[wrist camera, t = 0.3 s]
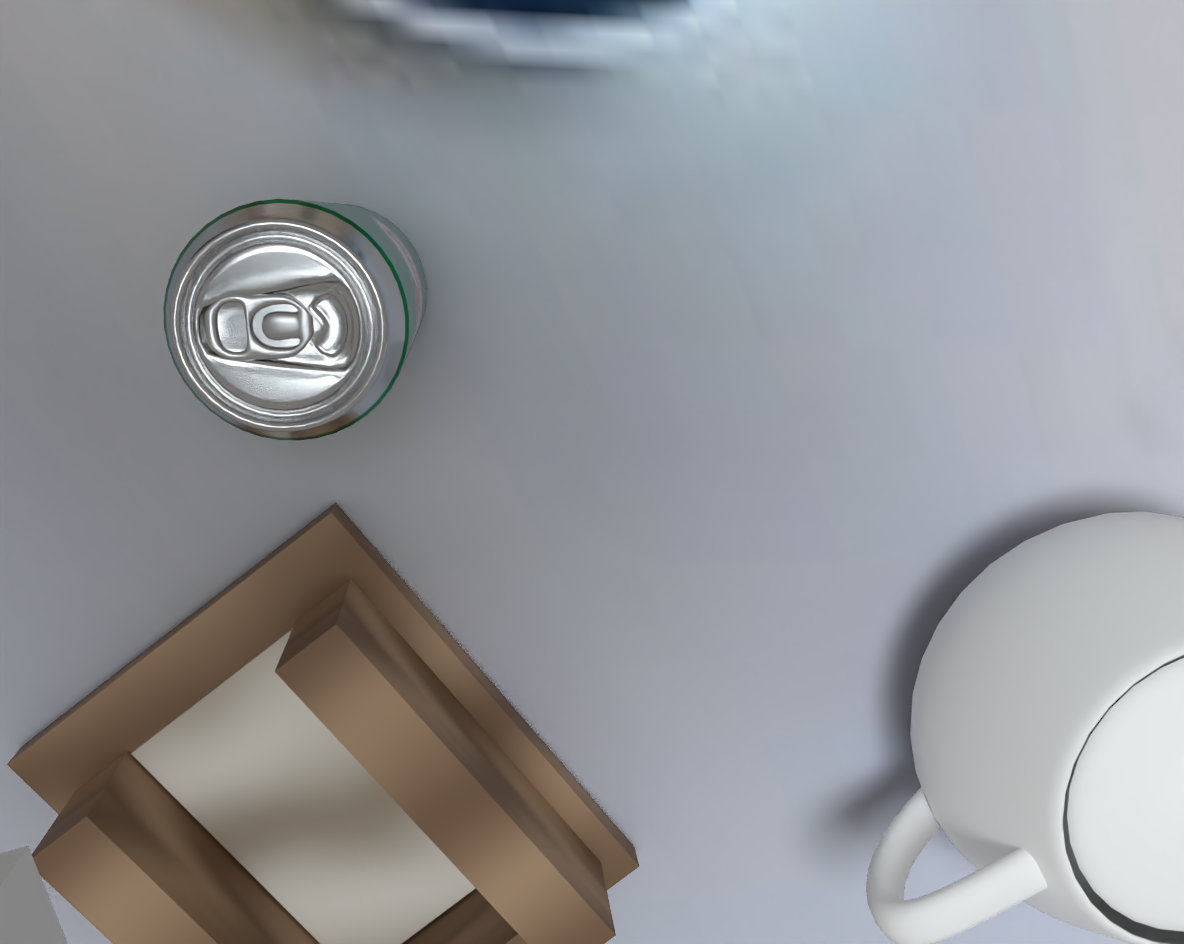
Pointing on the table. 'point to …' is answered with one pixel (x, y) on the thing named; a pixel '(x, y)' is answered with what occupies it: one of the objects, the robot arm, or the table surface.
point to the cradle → (317, 778)
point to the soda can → (294, 315)
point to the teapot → (1053, 740)
